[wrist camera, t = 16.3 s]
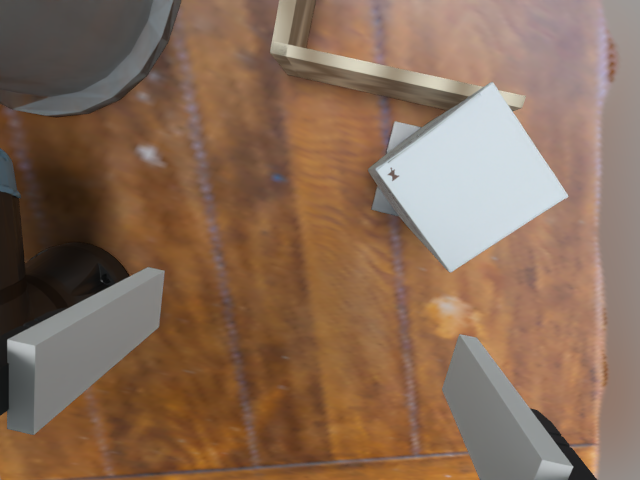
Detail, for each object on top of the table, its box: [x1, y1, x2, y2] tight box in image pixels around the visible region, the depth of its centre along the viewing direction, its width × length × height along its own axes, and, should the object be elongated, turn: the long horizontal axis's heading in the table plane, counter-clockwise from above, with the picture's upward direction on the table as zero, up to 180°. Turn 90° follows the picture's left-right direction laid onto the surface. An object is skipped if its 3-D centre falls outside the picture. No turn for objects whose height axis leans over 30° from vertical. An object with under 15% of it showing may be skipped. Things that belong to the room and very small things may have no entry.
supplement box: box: [368, 82, 568, 272], centre depth 31 cm, size 10×9×17 cm
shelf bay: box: [270, 0, 526, 111], centre depth 34 cm, size 23×15×8 cm, turn 77°
